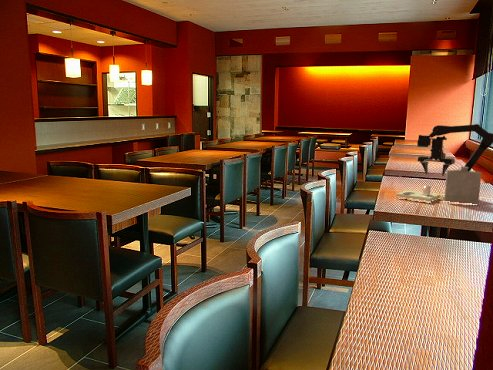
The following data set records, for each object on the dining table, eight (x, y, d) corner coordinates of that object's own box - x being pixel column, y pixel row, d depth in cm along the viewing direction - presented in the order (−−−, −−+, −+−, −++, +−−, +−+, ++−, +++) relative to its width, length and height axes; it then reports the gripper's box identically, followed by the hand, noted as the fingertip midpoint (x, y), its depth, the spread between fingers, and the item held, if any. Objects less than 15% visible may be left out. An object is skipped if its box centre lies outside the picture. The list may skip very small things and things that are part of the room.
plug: (430, 200, 229) (431, 186, 228) (427, 201, 227) (429, 187, 225) (424, 199, 231) (425, 185, 230) (421, 200, 229) (422, 186, 228)
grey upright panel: (477, 205, 219) (481, 167, 216) (478, 206, 216) (482, 168, 212) (444, 202, 226) (447, 165, 222) (444, 203, 222) (447, 166, 218)
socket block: (439, 200, 231) (440, 194, 230) (429, 204, 221) (429, 197, 220) (407, 195, 243) (407, 189, 243) (396, 198, 234) (396, 193, 233)
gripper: (459, 147, 236) (456, 175, 239) (426, 145, 249) (423, 171, 252) (452, 149, 228) (449, 177, 231) (418, 146, 241) (416, 173, 244)
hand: (434, 175), depth 240 cm, fingers open, 9 cm apart
